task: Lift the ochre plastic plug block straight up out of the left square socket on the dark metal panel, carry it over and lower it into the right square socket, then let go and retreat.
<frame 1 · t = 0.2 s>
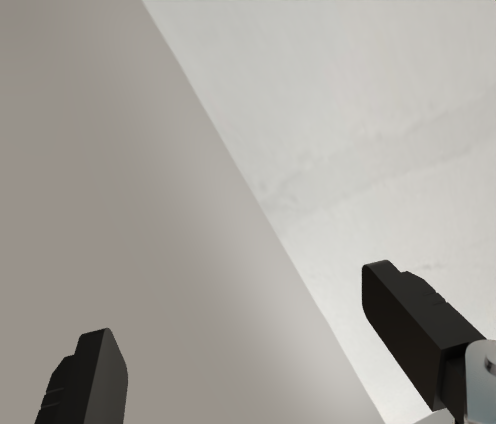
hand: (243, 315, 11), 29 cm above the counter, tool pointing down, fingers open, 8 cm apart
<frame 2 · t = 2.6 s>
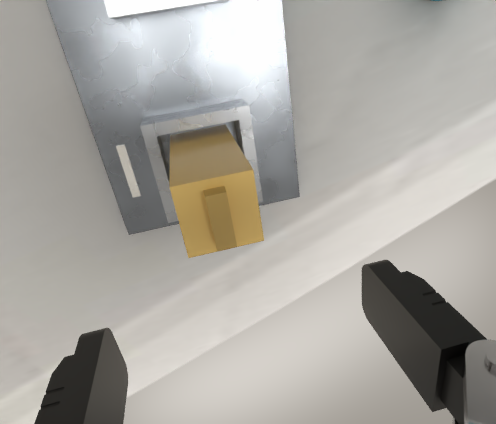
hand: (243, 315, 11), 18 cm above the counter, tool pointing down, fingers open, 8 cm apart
panel: (181, 53, 24), on the counter
plug: (203, 156, 27), point 1 cm above the counter, touching panel
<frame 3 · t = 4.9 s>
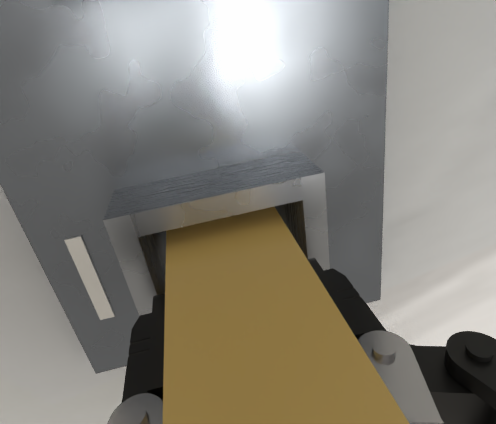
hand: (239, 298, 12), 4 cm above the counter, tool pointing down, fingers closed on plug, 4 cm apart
panel: (187, 67, 13), on the counter
plug: (226, 248, 15), point 1 cm above the counter, touching gripper, panel
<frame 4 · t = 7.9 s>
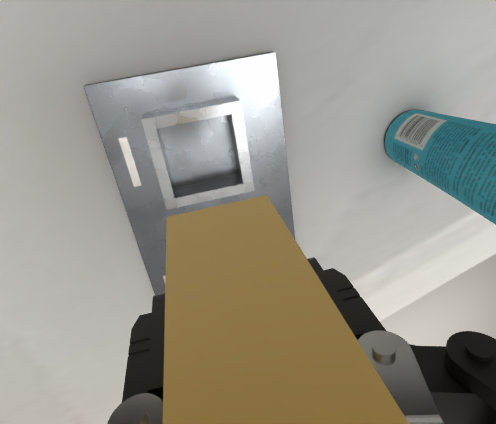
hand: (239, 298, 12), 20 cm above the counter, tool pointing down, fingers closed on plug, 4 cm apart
tube: (408, 135, 33), on the counter
panel: (212, 209, 32), on the counter
plug: (226, 248, 15), point 17 cm above the counter, touching gripper
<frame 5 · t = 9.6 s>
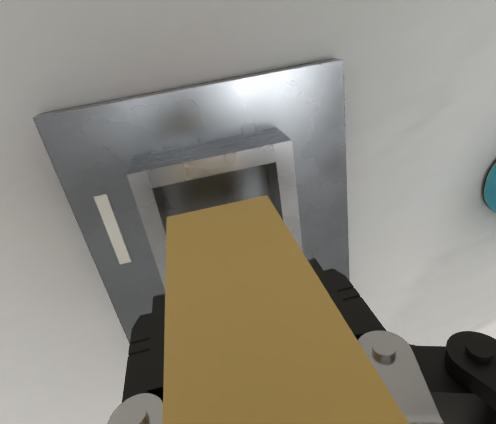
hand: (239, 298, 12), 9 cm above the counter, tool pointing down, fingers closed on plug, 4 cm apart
panel: (236, 284, 22), on the counter
plug: (226, 248, 15), point 5 cm above the counter, touching gripper
when the fingers open (5 cm above the counter, at t = 11.1 s): plug stays where it is, resting on panel.
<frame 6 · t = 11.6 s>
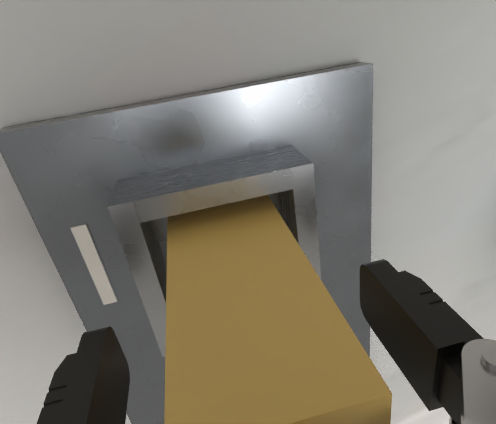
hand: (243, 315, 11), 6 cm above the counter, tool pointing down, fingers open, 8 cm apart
panel: (240, 321, 19), on the counter
plug: (224, 236, 16), point 1 cm above the counter, touching panel
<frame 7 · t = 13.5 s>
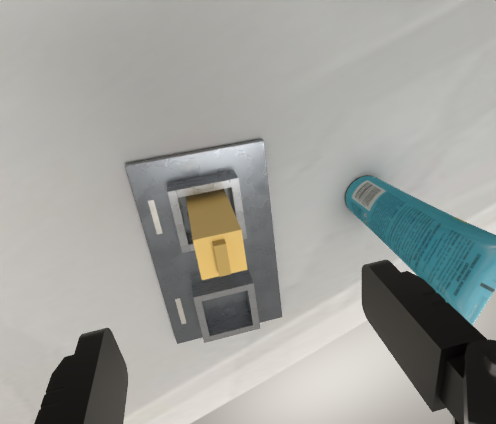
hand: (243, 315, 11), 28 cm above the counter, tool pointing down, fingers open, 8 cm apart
tube: (363, 193, 44), on the counter
panel: (214, 248, 42), on the counter
plug: (207, 206, 39), point 1 cm above the counter, touching panel
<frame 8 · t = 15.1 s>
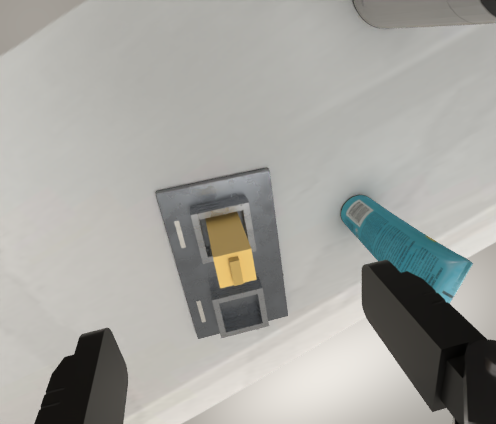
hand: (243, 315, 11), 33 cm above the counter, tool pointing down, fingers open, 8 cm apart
tube: (356, 209, 51), on the counter
panel: (229, 258, 50), on the counter
plug: (222, 224, 46), point 1 cm above the counter, touching panel
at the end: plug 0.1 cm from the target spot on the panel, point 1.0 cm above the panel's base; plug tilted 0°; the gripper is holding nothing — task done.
